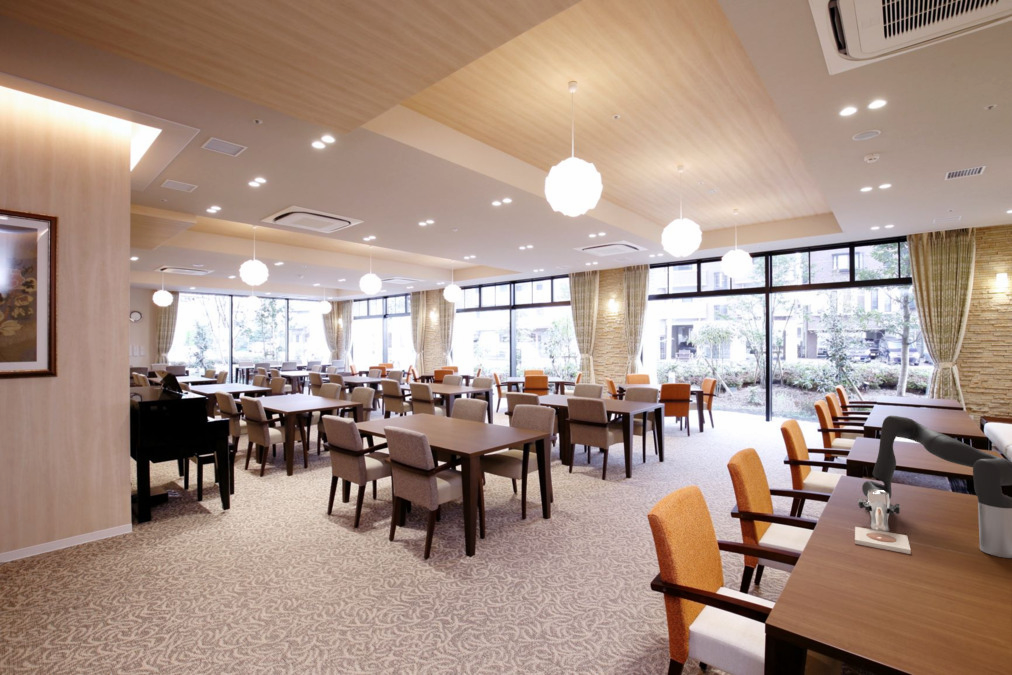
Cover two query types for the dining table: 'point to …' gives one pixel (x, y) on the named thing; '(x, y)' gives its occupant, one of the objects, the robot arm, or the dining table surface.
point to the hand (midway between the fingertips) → (879, 510)
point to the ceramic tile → (882, 540)
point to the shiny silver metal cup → (879, 509)
